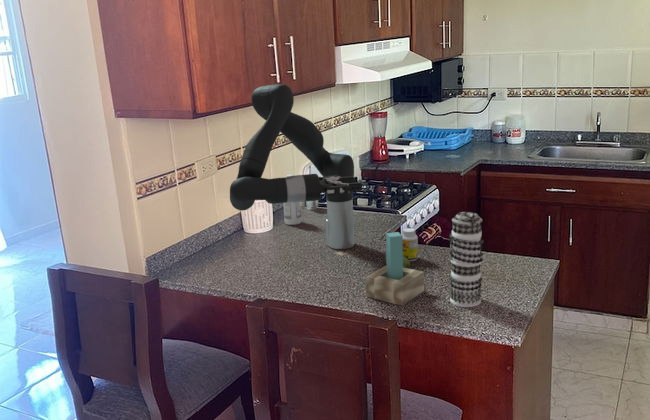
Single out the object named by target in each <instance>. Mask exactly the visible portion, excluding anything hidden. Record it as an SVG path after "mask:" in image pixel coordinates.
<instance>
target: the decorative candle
mask: <svg viewBox="0 0 650 420" xmlns="http://www.w3.org/2000/svg"><path fill="white" fill-rule="evenodd" d="M451 221H452V226H451V227H452V230H451V232H449V235H448V236H449V240H448V242H449V244H450V245H449V248H448V249H450V250H449V255H450V259H449V260H450V263H451V270H450V271H451V272H450V277H449V280H450V282H449V285H450V287H449V292H450V293H449V297H450V299H449V301H450V303H451V304H452V305H454V306H457V307H462V308H474V307H477V306H479V305H481V303H482V288H481V287H482V285H483V284H482V280H483V278H482V276H481V273H482V271H481V264H482V263H483V258H482V257H483V255H484V253H483V252H482V250H484V245H483V244H484V243H485V240H484V239H482V233H483V231H482V222H484V221H483V219H482V218H481V217H480V216H479V214H478V213H476V212H472V211H462V212H461V211H460V212H457V214H456V215H455V216H454V217H452V218H451Z"/></svg>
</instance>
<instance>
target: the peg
mask: <svg viewBox="0 0 650 420" xmlns="http://www.w3.org/2000/svg"><path fill="white" fill-rule="evenodd" d="M402 235H403V234H401V232H398V231H395V232H388V233H387V232H386V233H385V247H386V248H385V250H386V253H385V256H386V260H385V262H386V261H387V263H386V265H387V278H391V279H396V280H400V279H401V278H403V244H402Z"/></svg>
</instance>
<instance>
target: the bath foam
mask: <svg viewBox="0 0 650 420" xmlns="http://www.w3.org/2000/svg"><path fill="white" fill-rule="evenodd" d="M289 176H295V175H294V174H287V175H286V177H289ZM301 203H302V202H296V203H292V202H287V203H282V204H283V217H284V219H283V220H284V224H285V225H287V226H295V225H300V224H301V223H302V204H301Z"/></svg>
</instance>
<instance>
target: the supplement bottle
mask: <svg viewBox="0 0 650 420" xmlns="http://www.w3.org/2000/svg"><path fill="white" fill-rule="evenodd" d="M401 235H402V244H403V255H404V256H405V258H407V259H408V260H409V261H410V262H416V261H417V260H418V258H419V257H418V256H419V255H418V253H419V248H418V247H419V245H418V244H419V243H418V242H419V241H418V240H419V238H418V237H419V236H418V235H417V234H416V230H415V228H410V227H409V228H404V229H403V230H402V234H401Z"/></svg>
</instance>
